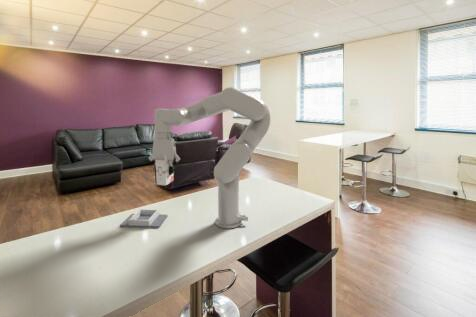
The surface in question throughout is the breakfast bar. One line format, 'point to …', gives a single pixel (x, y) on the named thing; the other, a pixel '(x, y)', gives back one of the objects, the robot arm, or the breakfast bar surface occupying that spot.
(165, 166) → the ink cartridge box
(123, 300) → the breakfast bar surface
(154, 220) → the board
